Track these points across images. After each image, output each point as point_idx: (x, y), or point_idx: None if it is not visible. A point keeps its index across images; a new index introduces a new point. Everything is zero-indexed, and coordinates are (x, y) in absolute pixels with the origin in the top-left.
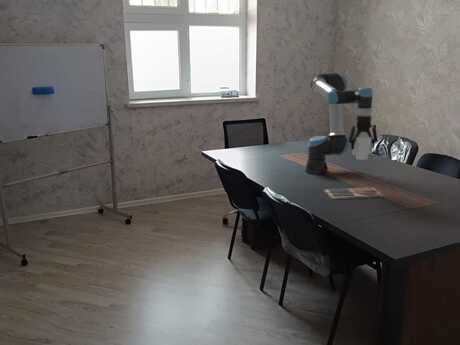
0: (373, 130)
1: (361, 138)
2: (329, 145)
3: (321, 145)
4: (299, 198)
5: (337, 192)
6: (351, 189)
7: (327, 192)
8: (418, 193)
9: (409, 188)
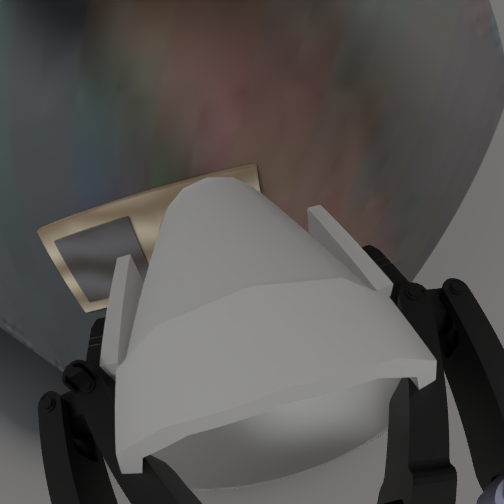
0: (479, 461)
1: (232, 482)
2: None
3: None
4: (3, 308)
5: (92, 271)
6: (147, 214)
7: (57, 266)
8: (391, 211)
9: (393, 157)
